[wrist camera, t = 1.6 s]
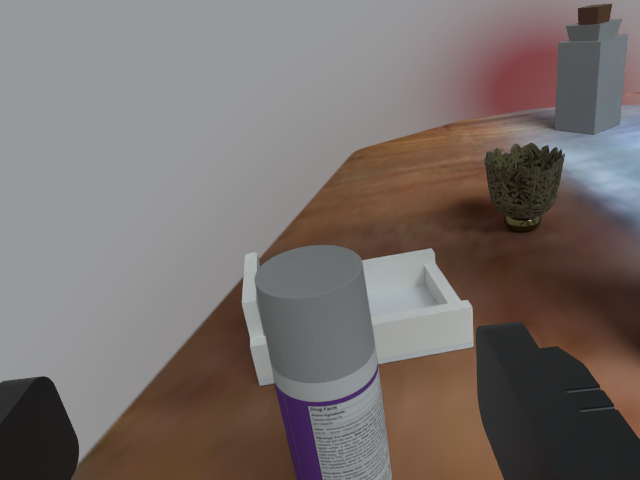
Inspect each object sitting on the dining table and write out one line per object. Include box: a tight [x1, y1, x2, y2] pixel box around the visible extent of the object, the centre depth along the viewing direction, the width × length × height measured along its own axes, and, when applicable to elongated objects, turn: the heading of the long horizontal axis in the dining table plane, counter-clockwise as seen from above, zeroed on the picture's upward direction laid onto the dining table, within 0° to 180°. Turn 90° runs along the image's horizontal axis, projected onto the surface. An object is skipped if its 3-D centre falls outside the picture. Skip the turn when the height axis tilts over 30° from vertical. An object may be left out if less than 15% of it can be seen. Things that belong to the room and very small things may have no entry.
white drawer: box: [242, 248, 474, 386], centre depth 42 cm, size 16×10×6 cm, turn 96°
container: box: [255, 245, 392, 480], centre depth 24 cm, size 5×5×15 cm
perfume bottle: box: [555, 4, 628, 135], centre depth 81 cm, size 7×7×18 cm
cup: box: [484, 143, 565, 232], centre depth 54 cm, size 8×7×8 cm
